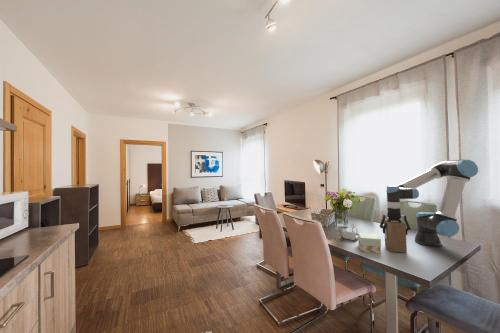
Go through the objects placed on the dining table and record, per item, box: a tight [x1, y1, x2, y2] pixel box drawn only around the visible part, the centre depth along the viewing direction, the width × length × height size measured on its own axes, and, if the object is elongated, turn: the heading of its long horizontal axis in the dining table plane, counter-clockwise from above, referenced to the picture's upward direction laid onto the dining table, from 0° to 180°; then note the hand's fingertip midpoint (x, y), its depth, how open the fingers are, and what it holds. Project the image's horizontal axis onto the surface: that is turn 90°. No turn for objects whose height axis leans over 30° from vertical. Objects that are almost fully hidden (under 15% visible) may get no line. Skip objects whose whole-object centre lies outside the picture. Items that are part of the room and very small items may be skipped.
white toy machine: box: [340, 223, 359, 242], centre depth 172 cm, size 18×10×12 cm
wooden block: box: [383, 219, 408, 253], centre depth 144 cm, size 10×10×20 cm
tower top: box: [357, 232, 382, 248], centre depth 146 cm, size 12×12×5 cm
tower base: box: [357, 238, 382, 254], centre depth 146 cm, size 12×12×5 cm
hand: (395, 238), depth 144 cm, fingers closed on wooden block, 11 cm apart
